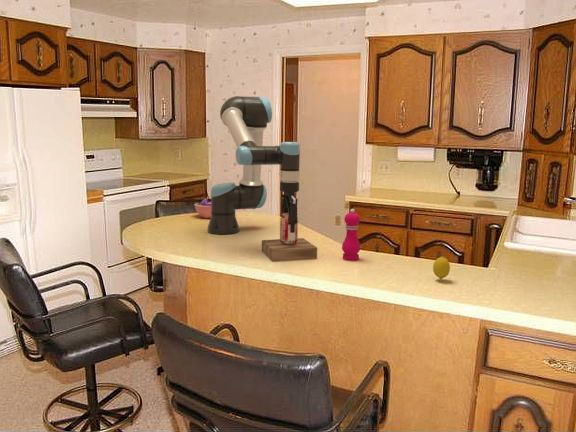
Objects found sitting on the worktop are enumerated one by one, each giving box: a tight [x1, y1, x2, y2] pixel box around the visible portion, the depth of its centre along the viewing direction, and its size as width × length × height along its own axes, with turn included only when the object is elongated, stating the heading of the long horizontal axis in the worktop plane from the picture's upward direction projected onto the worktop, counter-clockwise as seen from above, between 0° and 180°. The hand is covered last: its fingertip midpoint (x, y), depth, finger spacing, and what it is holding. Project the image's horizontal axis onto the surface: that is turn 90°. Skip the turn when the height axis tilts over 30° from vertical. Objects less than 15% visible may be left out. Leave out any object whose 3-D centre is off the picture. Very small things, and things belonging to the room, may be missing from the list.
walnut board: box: [261, 237, 318, 263], centre depth 203 cm, size 18×18×5 cm
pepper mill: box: [341, 208, 361, 262], centre depth 197 cm, size 7×7×20 cm
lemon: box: [432, 256, 451, 280], centre depth 172 cm, size 6×6×8 cm
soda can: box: [279, 213, 299, 245], centre depth 202 cm, size 7×7×12 cm
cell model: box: [194, 198, 211, 220], centre depth 281 cm, size 17×20×11 cm
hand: (288, 238), depth 203 cm, fingers closed on soda can, 7 cm apart
